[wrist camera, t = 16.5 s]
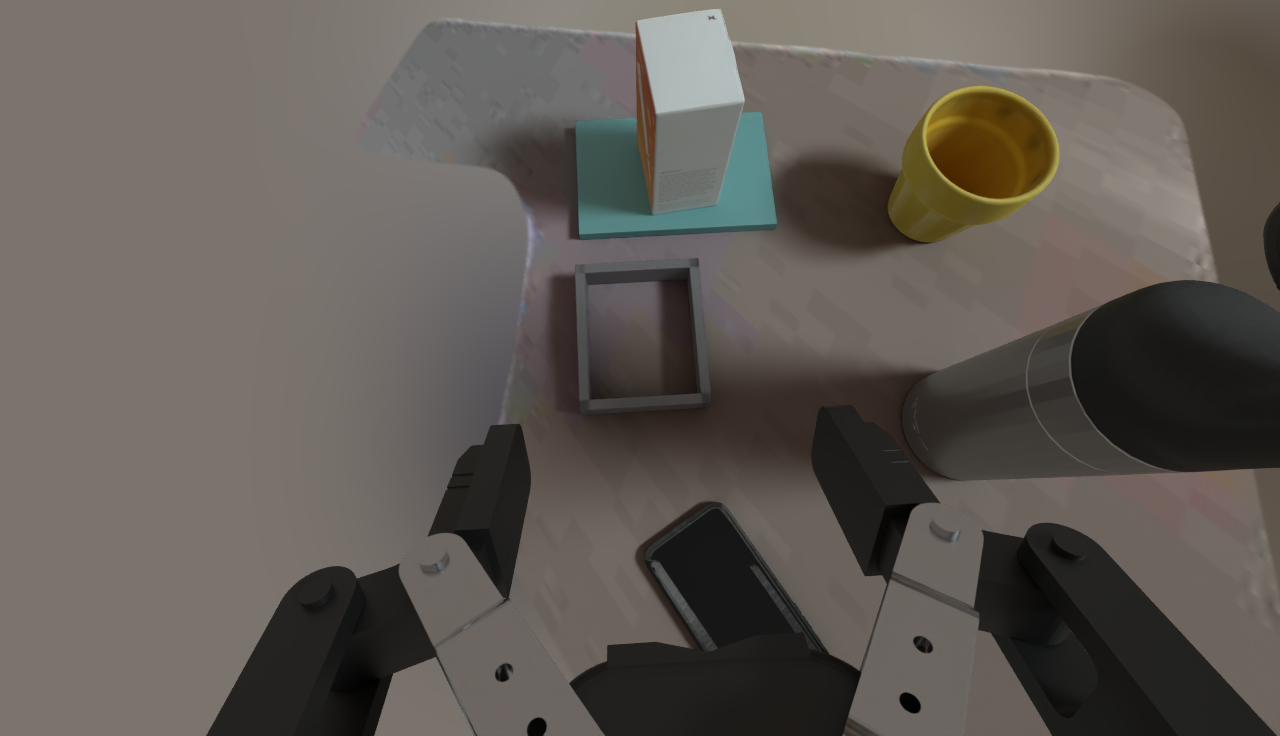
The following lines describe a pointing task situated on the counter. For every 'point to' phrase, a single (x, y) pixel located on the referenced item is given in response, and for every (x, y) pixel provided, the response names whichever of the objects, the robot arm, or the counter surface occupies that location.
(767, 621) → the phone
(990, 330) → the counter surface
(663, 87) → the small box
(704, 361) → the tray frame
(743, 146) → the board
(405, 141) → the counter surface
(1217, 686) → the robot arm
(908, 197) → the plant pot
